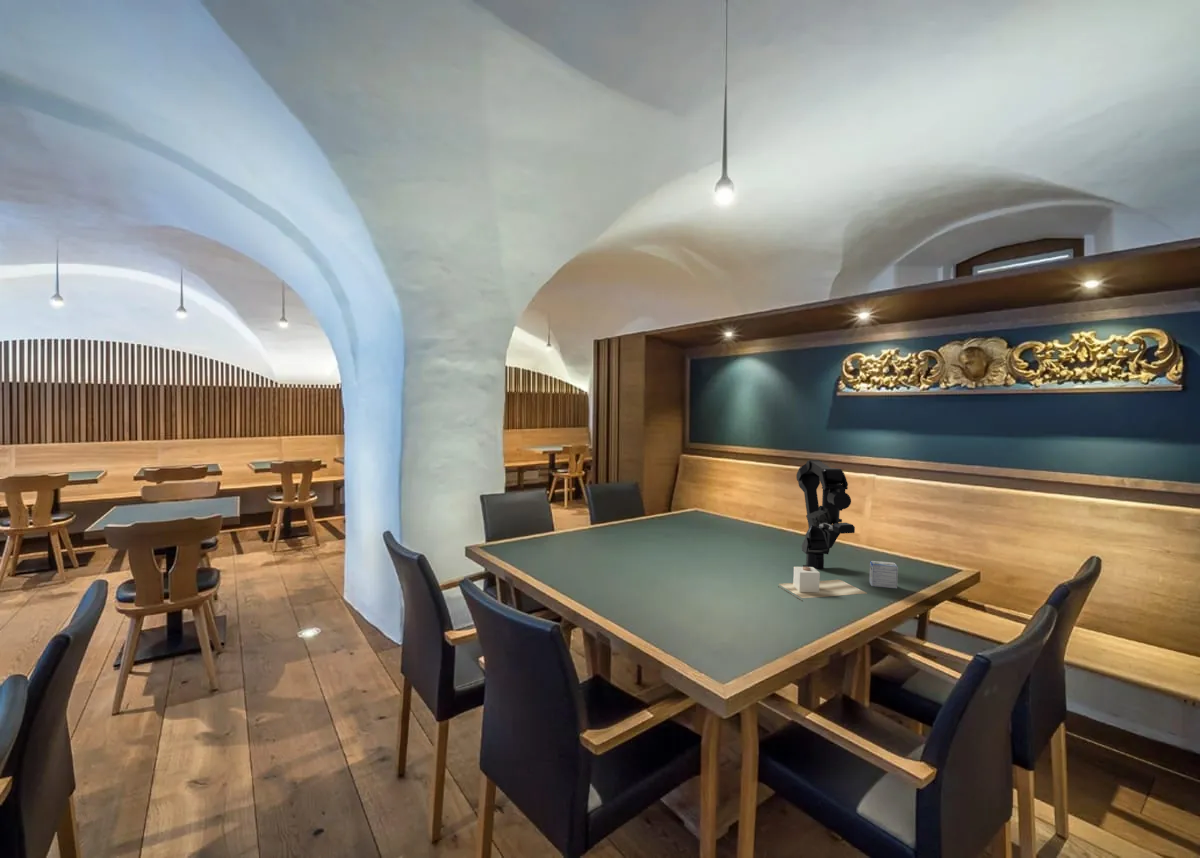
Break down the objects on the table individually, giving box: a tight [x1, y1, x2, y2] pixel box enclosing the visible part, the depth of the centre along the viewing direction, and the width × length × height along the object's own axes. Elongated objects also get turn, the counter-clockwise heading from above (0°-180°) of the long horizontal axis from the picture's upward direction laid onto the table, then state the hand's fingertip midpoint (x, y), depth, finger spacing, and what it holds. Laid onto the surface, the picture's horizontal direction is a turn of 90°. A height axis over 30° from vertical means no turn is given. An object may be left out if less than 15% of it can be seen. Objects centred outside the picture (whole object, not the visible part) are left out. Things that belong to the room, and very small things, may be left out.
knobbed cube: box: [792, 566, 821, 593], centre depth 181 cm, size 6×6×7 cm
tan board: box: [777, 579, 867, 602], centre depth 182 cm, size 14×24×4 cm, turn 103°
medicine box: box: [868, 560, 899, 589], centre depth 186 cm, size 8×4×9 cm, turn 74°
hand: (829, 547), depth 192 cm, fingers closed
